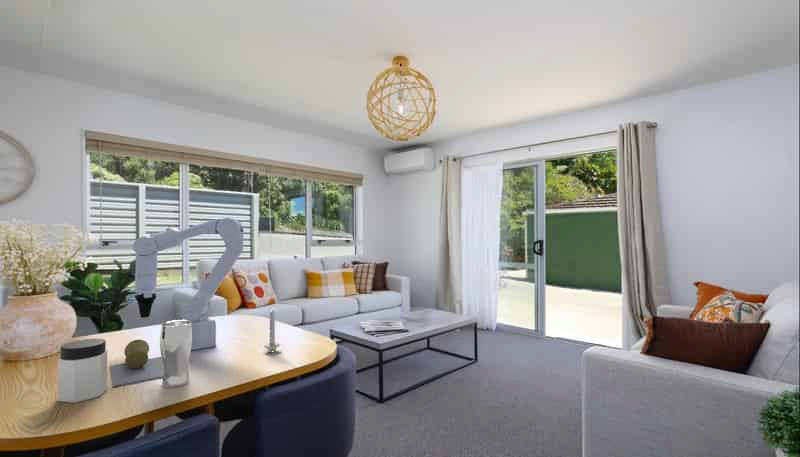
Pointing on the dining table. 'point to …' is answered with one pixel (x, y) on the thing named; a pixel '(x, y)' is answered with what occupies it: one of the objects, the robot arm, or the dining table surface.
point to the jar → (82, 370)
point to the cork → (136, 354)
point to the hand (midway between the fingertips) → (144, 317)
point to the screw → (272, 335)
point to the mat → (136, 372)
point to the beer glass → (175, 352)
